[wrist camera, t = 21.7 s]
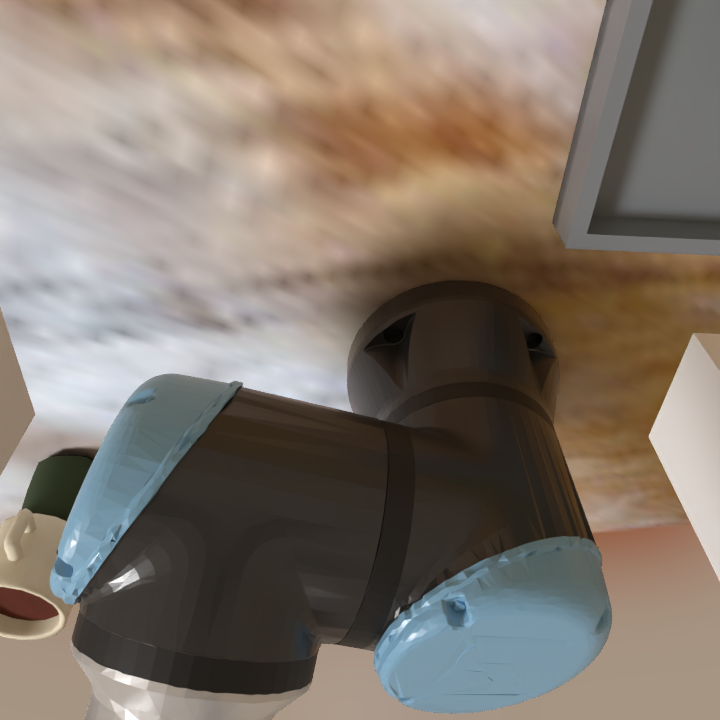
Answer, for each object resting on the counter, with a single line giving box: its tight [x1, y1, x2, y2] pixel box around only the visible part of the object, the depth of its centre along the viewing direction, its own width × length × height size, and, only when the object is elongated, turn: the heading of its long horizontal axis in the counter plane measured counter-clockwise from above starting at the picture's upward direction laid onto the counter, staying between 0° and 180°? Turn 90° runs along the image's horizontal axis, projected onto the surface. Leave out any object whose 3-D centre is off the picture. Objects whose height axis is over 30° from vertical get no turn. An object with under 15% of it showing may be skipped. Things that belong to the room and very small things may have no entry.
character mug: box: [0, 455, 93, 640], centre depth 51 cm, size 11×7×13 cm, turn 174°
